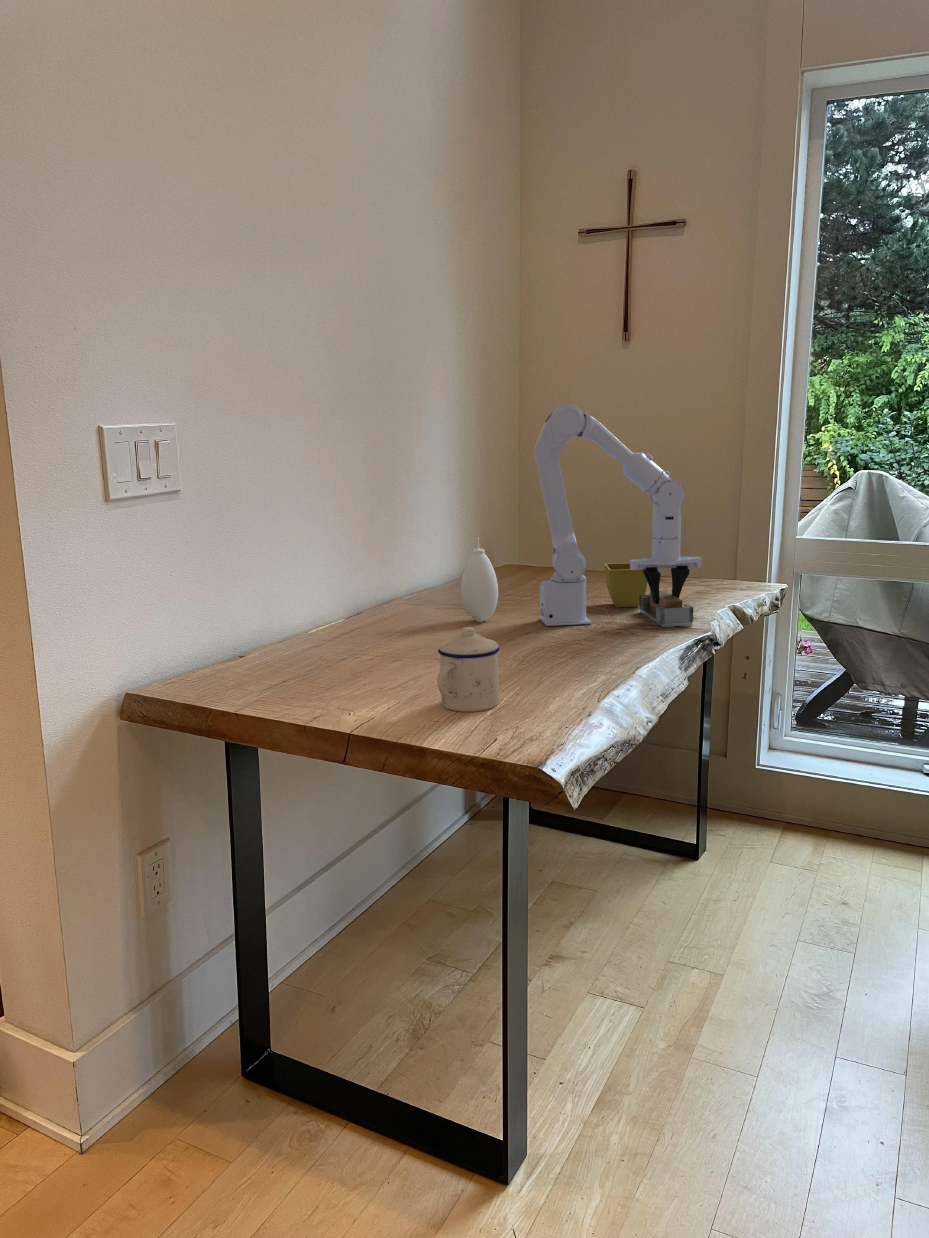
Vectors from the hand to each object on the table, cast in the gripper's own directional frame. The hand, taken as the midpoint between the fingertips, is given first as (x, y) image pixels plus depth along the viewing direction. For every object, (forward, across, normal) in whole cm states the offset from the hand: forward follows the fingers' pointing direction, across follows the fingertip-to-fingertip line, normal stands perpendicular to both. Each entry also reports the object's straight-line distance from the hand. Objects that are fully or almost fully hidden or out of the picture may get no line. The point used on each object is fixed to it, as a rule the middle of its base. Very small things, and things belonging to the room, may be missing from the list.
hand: (665, 602), depth 194 cm
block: (+3, 0, 0) cm, 3 cm away
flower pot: (+4, -4, +16) cm, 17 cm away
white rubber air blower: (+4, -38, +7) cm, 39 cm away
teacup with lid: (+4, -47, -53) cm, 71 cm away
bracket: (+3, 0, 0) cm, 3 cm away
